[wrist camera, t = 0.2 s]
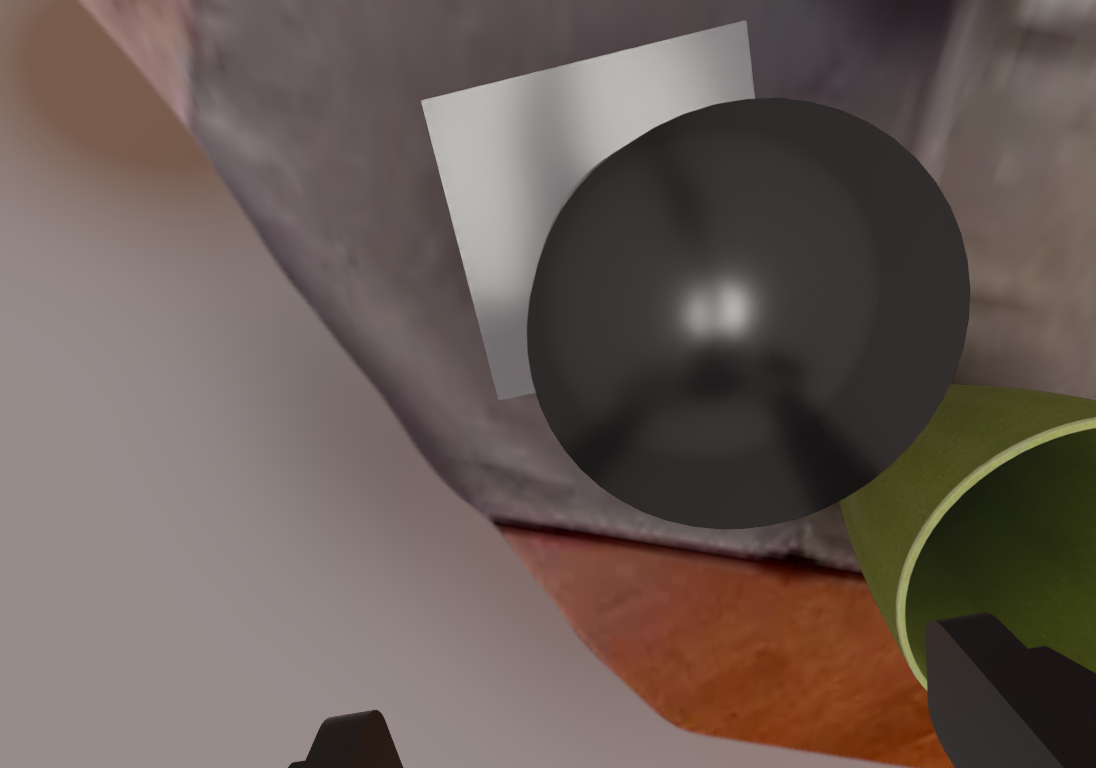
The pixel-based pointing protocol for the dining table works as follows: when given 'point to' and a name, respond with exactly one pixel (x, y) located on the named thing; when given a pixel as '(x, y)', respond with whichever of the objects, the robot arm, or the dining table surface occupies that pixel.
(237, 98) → the dining table surface
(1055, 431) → the flower pot
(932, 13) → the dining table surface
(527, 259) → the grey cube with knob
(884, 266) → the plunger
